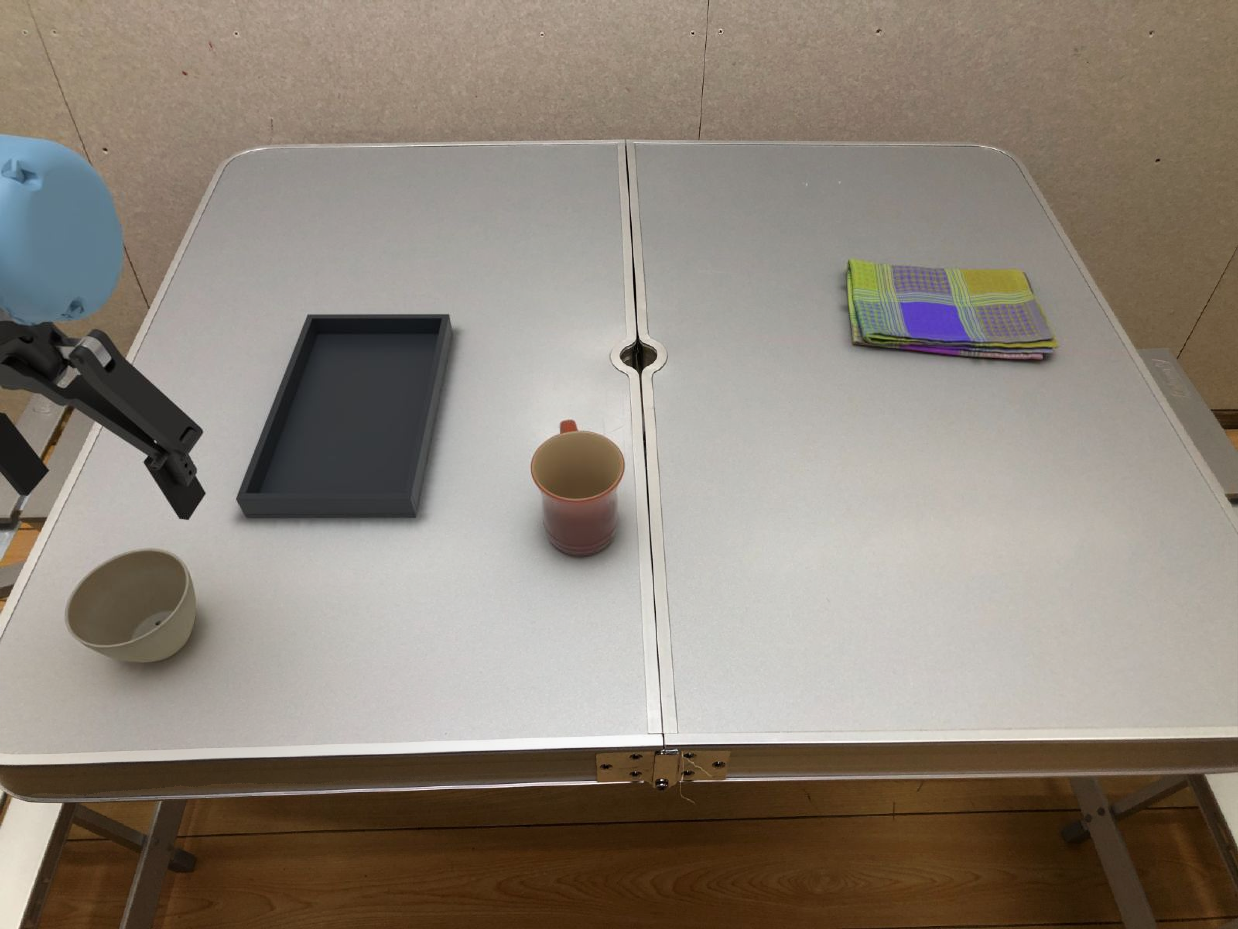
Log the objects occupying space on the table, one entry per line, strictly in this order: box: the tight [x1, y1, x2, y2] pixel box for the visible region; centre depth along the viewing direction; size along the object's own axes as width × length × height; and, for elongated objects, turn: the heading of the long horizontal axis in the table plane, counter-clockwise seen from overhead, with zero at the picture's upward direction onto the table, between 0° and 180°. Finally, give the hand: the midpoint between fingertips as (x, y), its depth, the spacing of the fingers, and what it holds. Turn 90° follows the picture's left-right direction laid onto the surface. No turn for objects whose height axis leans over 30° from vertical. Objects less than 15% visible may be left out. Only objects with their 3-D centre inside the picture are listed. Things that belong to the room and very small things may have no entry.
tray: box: [235, 313, 454, 519], centre depth 95 cm, size 30×18×3 cm, turn 0°
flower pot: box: [64, 547, 197, 663], centre depth 74 cm, size 10×10×7 cm
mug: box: [530, 419, 626, 557], centre depth 82 cm, size 12×9×10 cm
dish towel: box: [846, 258, 1060, 360], centre depth 108 cm, size 18×24×3 cm
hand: (113, 494), depth 66 cm, fingers open, 13 cm apart
